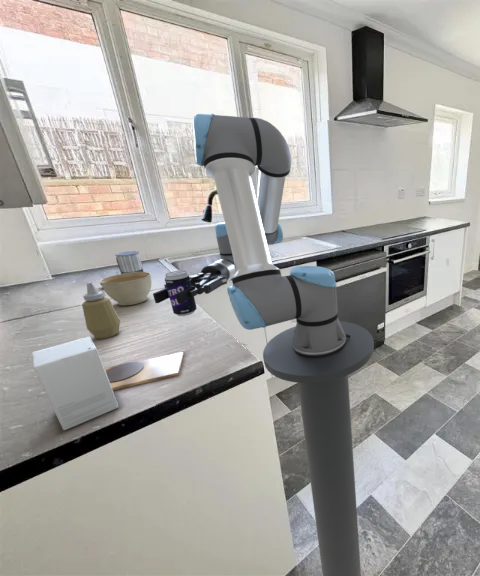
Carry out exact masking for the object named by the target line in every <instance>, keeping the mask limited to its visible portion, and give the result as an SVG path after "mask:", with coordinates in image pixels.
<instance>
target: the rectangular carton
mask: <svg viewBox="0 0 480 576" xmlns="http://www.w3.org/2000/svg"><path fill="white" fill-rule="evenodd" d="M32 359H33V363H32V364H33V371H34V372H35V374H36V376H37V378H38V380H39V382H40V384H41V386H42V388H43V390H44V393H45V395H46V397H47V398H48V399H47V400H48V401H49V403H50V405H51V407H52V409H53V411H54V414H55V416H56V418H57V420H58V422H59V424H60V426H61V428H62V430H63V431H66V430H70V429H71V428H73V427H76V426H78V425H82V424H83V423H85V422H88V421H90V420H92V419H96V418H97V417H100V416H103V415H105V414H106V413H109V412H111V411H113V410H116V409H118V408H119V403H118V401H117V398H116V395H115V393H114V390H112V387H111V384H110V382H109V379H108V376H107V374H106V371H105V369H104V368H105V365H104V364H103V361H102V359H101V356H100V353H99V351H98V349H97V346H96V345H95V343H94V341H93V340H92V339H91V337H90V336H89V335H88V336H85V337H81V338H77V339H75V340H71V341H68V342H63V343H61V344H56V345H53V346H50V347H46V348H43V349H39V350H36V351H32Z"/></svg>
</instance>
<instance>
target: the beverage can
mask: <svg viewBox="0 0 480 576" xmlns="http://www.w3.org/2000/svg"><path fill="white" fill-rule="evenodd" d="M164 275H165V278H164V281H165V284H166V286H167V290H168V294H169V298H168V299H169V301H170V305H171V309H172V313H173V314H174V315H177V316H178V317H186V316H189V315H193V314H194V313H195V311H196V310H197V303H196V299H195V296H194V297H192V298H190V299H188V300H186V301H185V302H183V303H181V304H178V301H177V297H176V294H177V293H179V292H181V291H183V290H185V289H187V288H189V287H191V282H190V278H189V277H190V275H189V274H188V272H187V271H186V270H175V271H169V272H167V273H165V274H164Z"/></svg>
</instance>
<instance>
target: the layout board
mask: <svg viewBox="0 0 480 576" xmlns="http://www.w3.org/2000/svg"><path fill="white" fill-rule="evenodd" d="M184 355H185V353H184V351H180V352H175V353H171V354H165V355H161V356H156V357H151V358H146V359H142V360H141V359H140V360H135V361H128V362H124V363H120V364H118V365H113V366H108V367H104V369H105V371H106V374H107V376H108V379H109V382H110V384H111V387H112V390H113V391H117V390H121V389H125V388H130V387H133V386H139V385H142V384H148V383H151V382H156V381H160V380H164V379H169V378H172V377H176V376H179V375H180V372H181V367H182V365H183V364H182V363H183V360H184Z"/></svg>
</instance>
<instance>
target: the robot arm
mask: <svg viewBox="0 0 480 576" xmlns="http://www.w3.org/2000/svg"><path fill="white" fill-rule="evenodd" d="M192 129H193V144H194V145H193V146H194V156H195V157H194V158H195V163H196V165H197V166H200V167H204V171H205V174H206V175H207V176H209V177H210V178H212V179H213V180H214V184H215V188H216V192H217V196H218V201H219V204H220V209H221V213H222V217H223V221H221V222H220V221H219V222H217V223H216V224H214V229H215V238H216V242H217V246H218V252H219V257H220V259H219V260H216V261H214V262H212V263H210V264H208V265H205V266H204V267H202V269H201V271H200V272H199V273H197V274H195V275H192V276H189V278H190V282H191V287H189V288H187V289H185V290H183V291H181V292H179V293H177V294H176V297H177V301H178V304H181V303H183V302H185V301H186V300H188V299H190V298H192V297H194V298H195V297H196V296H198V295H202V294H203V293H204V294H205V295H209V294H210V293H212V292H213V291H215V290H217V289H218V288H220V287H221V286H224V285H227V284H228V282H230V281H231V282H232V284H230V285H229V286H227V290H226V291H227V295H228V298H229V302H230V304H231V307H232V310H233V312H234V314H235V316H236V319H237V321H238V322H239V324H240V326H241V327H242V328H243V329H245V330H247V331H248V330H249V331H250V330H257V329H262V328H266V327H269V326H273V325H277V324H281V323H285V322H288V321H293V320H295V321H296V325H295V326H296V328H295V330H294V337H293V350H294V352H295V353H297V354H298V355H300V356H303V357H308V358H319V357H326V356H329V355H332V354H335V353H337V352H339V351H340V350H341V349H343V347H344V346H345V344H346V337H347V338H350V335H348V334H345V333H344V330H343V328H342V326H341V324H340V319H339V312H338V311H339V309H338V297H337V294H338V293H337V281H336V275H335V273H334V272H333V270H331V269H330V268H327V267H324V266H316V265H299V266H295V267H292V268H291V269H290V271H289V275H284V276H282V272H281V269H280V268H279V267H277V266H276V265H274V264H273V261H272V257H271V253H270V250H269V246H272V245H275V244H276V245H277V244H280V243H282V242H283V240H284V235H283V234H284V232H283V228H282V226H281V225H280V224H279V219H280V214H281V207H282V201H283V196H284V195H283V194H284V188H285V181H286V177H288V176H289V175H290V173H291V168H292V155H291V150H290V147H289V144H288V142H287V140H286V138H285V137H284V135H283V134H282V132H281V131H280V130H279V129H278V128H277V127H276V126H275V125H273V124H272V123H271V122H269V121H268V120H265V119H262V118H258V117H247V116H246V117H245V116H235V115H234V116H232V115H222V114H215V113H214V112H213V113H197V114H195V115H194V116H193V118H192ZM256 168H257V170H258V183H257V196H256V192H255V188H254V184H253V179H252V176H253V174H254V173H255V172H256ZM163 287H164V288H162V289H160V290H158V291H155V292H153V293H152V296H153V299H154V303H155V304H160V303H162V302H163V301H166V300H168V299H170V298H169V294H168V290H167V286H166V283H165V284H164V285H163Z"/></svg>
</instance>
